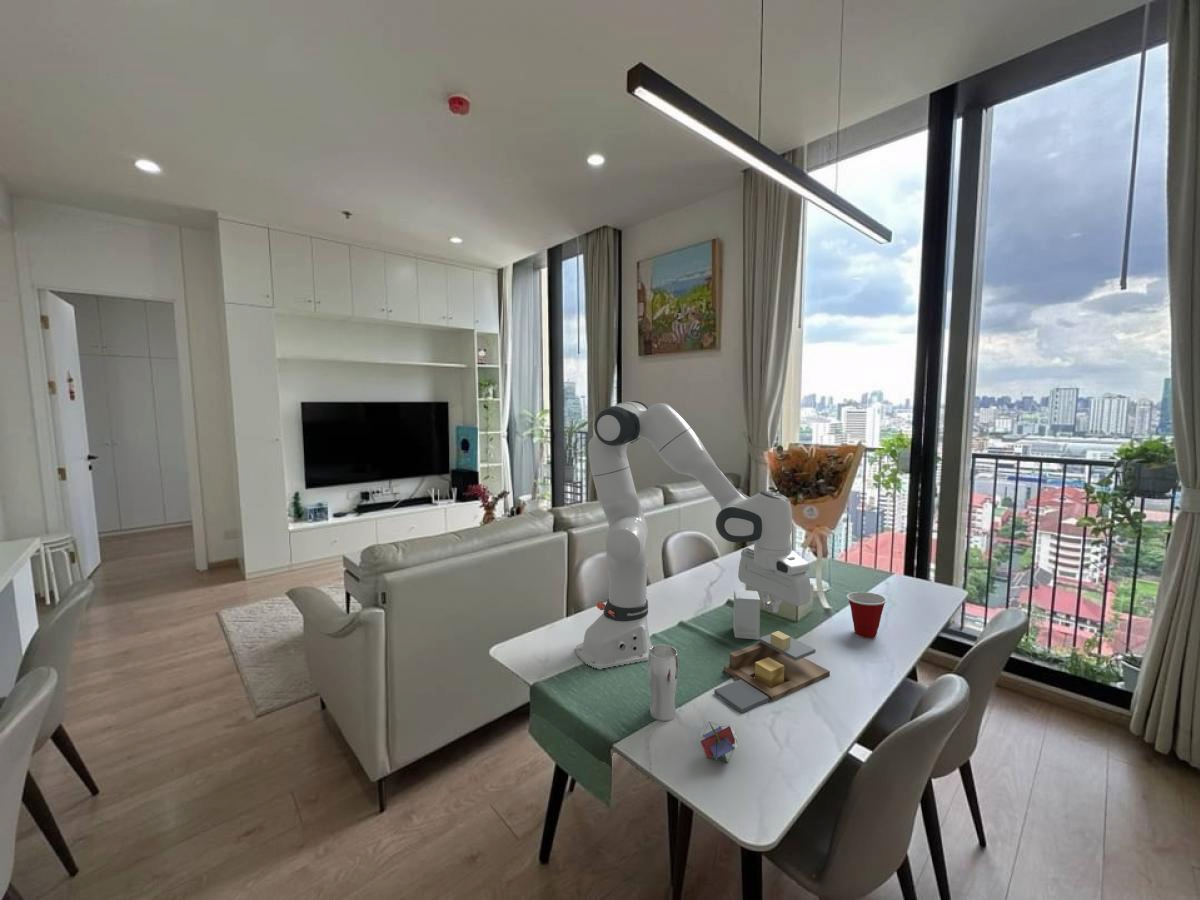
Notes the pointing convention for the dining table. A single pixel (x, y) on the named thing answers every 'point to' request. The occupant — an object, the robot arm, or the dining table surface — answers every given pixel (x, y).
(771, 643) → the sliding cover
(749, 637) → the supplement box
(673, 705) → the beer glass
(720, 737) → the geometric puzzle
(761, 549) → the robot arm
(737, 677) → the puzzle board
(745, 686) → the slate coaster
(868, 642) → the dining table surface
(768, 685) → the ochre block
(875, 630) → the plastic cup
